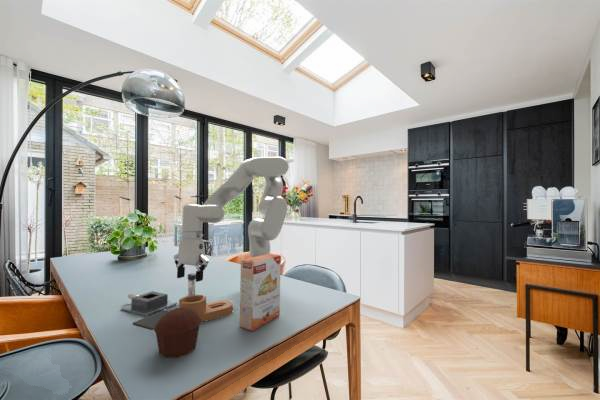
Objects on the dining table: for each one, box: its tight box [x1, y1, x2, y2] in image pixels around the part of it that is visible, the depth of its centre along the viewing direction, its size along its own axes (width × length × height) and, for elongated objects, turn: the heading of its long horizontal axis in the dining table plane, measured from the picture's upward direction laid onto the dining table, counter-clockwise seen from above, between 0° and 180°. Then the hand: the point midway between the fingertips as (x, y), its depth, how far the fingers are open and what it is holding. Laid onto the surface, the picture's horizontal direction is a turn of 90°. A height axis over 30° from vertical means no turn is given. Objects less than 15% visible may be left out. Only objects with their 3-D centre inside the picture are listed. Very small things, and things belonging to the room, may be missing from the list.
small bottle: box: [187, 273, 196, 296], centre depth 105 cm, size 3×3×10 cm
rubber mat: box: [132, 310, 170, 330], centre depth 87 cm, size 9×11×1 cm
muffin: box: [153, 307, 202, 359], centre depth 70 cm, size 12×11×10 cm
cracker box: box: [238, 253, 282, 332], centre depth 87 cm, size 14×6×21 cm, turn 148°
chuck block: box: [120, 290, 178, 317], centre depth 98 cm, size 18×12×4 cm, turn 66°
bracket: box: [178, 294, 234, 323], centre depth 91 cm, size 18×8×7 cm, turn 132°
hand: (189, 279), depth 105 cm, fingers open, 9 cm apart
